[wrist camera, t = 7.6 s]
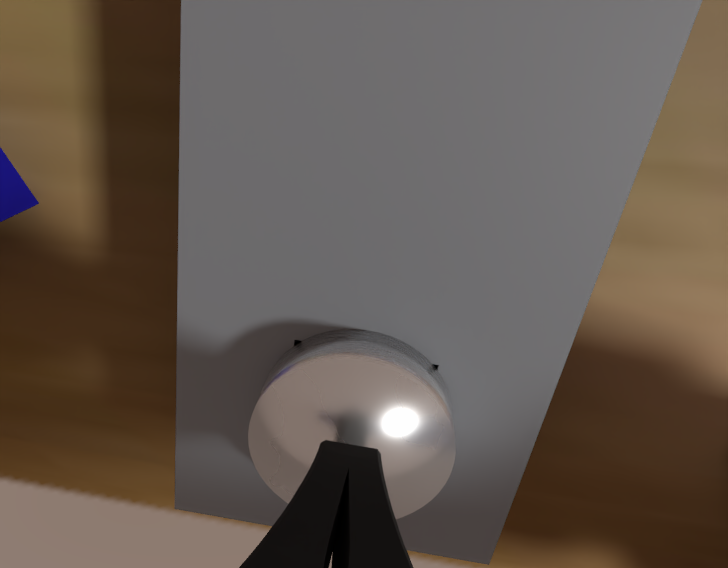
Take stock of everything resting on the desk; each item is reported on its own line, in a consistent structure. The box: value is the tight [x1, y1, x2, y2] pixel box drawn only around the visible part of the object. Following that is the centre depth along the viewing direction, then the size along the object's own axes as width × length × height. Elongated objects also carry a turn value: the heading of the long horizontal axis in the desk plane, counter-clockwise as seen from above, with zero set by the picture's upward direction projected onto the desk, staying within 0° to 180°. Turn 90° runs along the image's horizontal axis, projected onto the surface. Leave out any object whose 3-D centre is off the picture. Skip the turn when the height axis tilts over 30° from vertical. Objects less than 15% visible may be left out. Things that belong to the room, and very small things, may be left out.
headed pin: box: [248, 329, 456, 519], centre depth 16 cm, size 5×5×5 cm
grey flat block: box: [175, 0, 702, 565], centre depth 15 cm, size 18×10×4 cm, turn 171°
